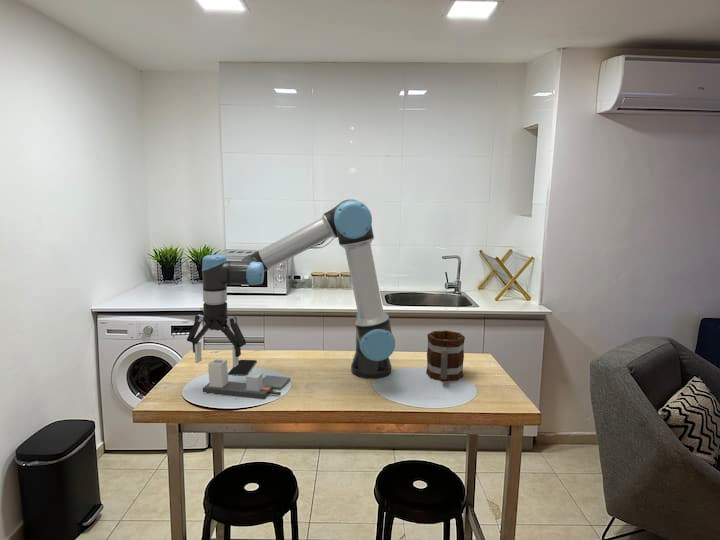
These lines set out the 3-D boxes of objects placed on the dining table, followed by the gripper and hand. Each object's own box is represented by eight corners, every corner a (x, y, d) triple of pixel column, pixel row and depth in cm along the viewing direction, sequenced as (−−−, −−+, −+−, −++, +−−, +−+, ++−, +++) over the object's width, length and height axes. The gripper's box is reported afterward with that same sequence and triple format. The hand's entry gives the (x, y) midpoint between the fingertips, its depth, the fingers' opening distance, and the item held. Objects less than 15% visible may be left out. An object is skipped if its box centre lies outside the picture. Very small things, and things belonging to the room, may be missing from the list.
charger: (228, 382, 170) (227, 358, 169) (221, 387, 166) (220, 363, 165) (216, 381, 171) (214, 357, 170) (209, 386, 167) (208, 362, 165)
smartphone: (226, 374, 182) (239, 359, 196) (226, 376, 182) (239, 361, 197) (246, 374, 181) (257, 360, 196) (246, 377, 181) (257, 362, 196)
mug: (427, 366, 192) (428, 329, 189) (463, 369, 189) (465, 331, 187) (423, 386, 173) (424, 345, 170) (463, 390, 170) (464, 348, 168)
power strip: (284, 391, 168) (284, 385, 167) (276, 400, 161) (276, 394, 161) (213, 384, 173) (213, 378, 173) (203, 392, 166) (202, 386, 166)
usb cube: (262, 386, 167) (262, 373, 167) (257, 390, 164) (257, 377, 163) (251, 384, 168) (251, 372, 167) (246, 389, 164) (246, 376, 164)
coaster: (290, 380, 178) (290, 377, 178) (281, 390, 169) (280, 387, 169) (266, 377, 180) (266, 375, 179) (256, 387, 171) (256, 385, 171)
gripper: (255, 302, 165) (256, 363, 168) (187, 297, 170) (189, 356, 174) (245, 307, 158) (246, 371, 161) (174, 301, 163) (177, 363, 166)
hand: (216, 363), depth 167 cm, fingers open, 13 cm apart
